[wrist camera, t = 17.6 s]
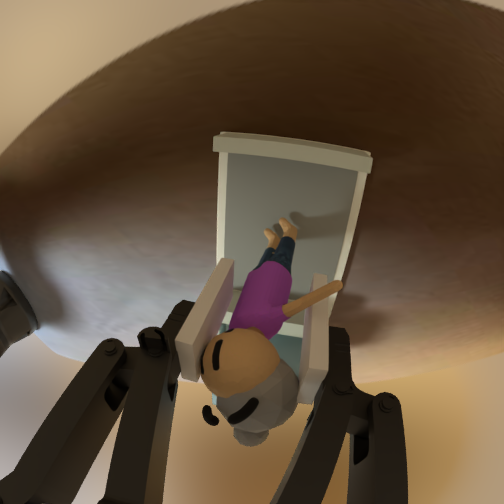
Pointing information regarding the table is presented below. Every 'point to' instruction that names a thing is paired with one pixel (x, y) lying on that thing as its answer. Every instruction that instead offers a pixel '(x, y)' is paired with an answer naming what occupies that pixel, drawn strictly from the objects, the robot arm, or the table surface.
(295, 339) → the grey-blue block
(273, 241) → the toy
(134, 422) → the robot arm
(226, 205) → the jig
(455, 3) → the table surface
